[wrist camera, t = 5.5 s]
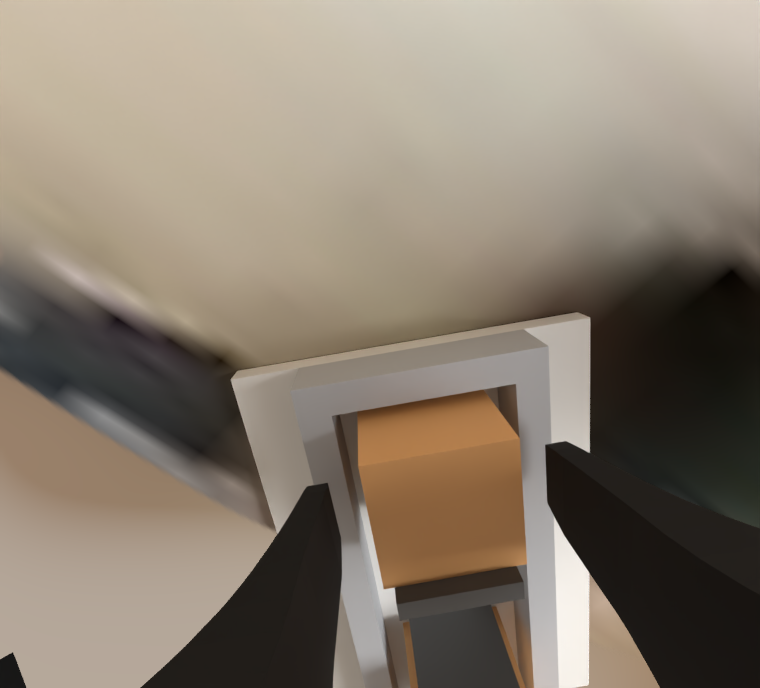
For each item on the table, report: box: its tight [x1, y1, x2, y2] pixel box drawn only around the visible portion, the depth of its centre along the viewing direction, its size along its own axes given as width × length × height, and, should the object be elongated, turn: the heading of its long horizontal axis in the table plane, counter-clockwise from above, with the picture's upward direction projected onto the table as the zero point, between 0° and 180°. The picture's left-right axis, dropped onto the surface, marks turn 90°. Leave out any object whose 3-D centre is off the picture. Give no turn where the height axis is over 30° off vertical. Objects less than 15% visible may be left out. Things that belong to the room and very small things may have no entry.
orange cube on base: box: [357, 390, 527, 621], centre depth 12 cm, size 4×5×4 cm
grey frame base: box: [231, 312, 590, 688], centre depth 14 cm, size 12×18×5 cm, turn 9°
